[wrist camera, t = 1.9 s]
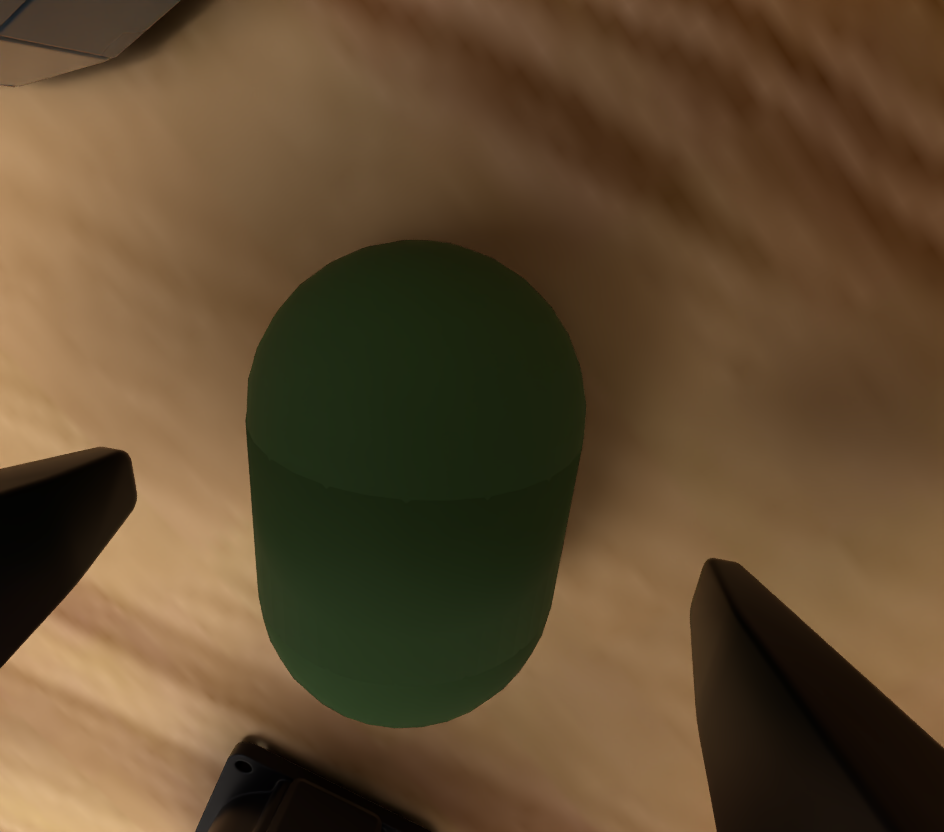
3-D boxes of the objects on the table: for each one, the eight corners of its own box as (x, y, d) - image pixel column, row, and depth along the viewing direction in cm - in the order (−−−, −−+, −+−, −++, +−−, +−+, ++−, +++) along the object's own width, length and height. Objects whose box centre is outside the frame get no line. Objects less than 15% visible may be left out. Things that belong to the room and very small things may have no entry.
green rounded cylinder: (542, 606, 13) (518, 837, 9) (330, 564, 14) (208, 759, 9) (611, 240, 10) (627, 313, 5) (328, 206, 11) (134, 246, 6)
